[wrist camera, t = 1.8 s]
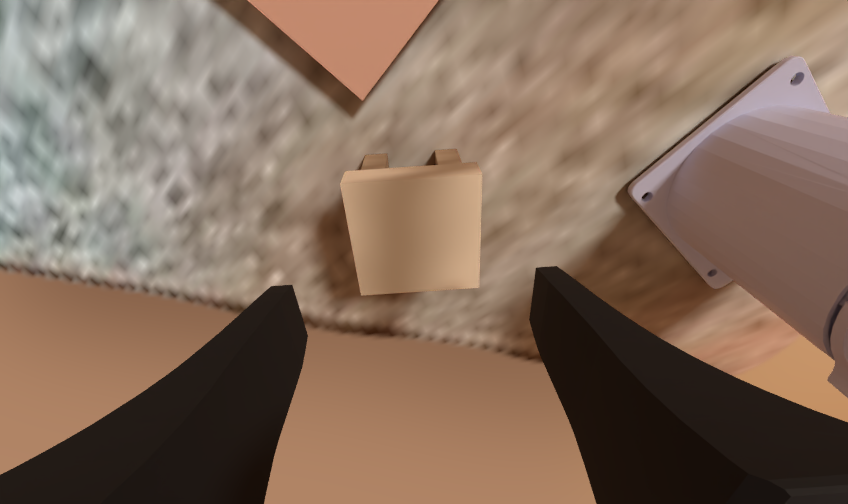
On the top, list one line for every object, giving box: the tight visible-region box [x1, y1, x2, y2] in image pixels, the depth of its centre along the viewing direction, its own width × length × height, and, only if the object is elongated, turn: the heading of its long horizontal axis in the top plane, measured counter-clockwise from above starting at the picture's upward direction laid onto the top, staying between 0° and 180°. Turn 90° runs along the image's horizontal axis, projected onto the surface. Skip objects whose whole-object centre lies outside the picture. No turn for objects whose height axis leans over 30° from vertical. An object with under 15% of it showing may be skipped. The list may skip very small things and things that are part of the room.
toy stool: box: [340, 149, 482, 296], centre depth 16 cm, size 5×5×4 cm
